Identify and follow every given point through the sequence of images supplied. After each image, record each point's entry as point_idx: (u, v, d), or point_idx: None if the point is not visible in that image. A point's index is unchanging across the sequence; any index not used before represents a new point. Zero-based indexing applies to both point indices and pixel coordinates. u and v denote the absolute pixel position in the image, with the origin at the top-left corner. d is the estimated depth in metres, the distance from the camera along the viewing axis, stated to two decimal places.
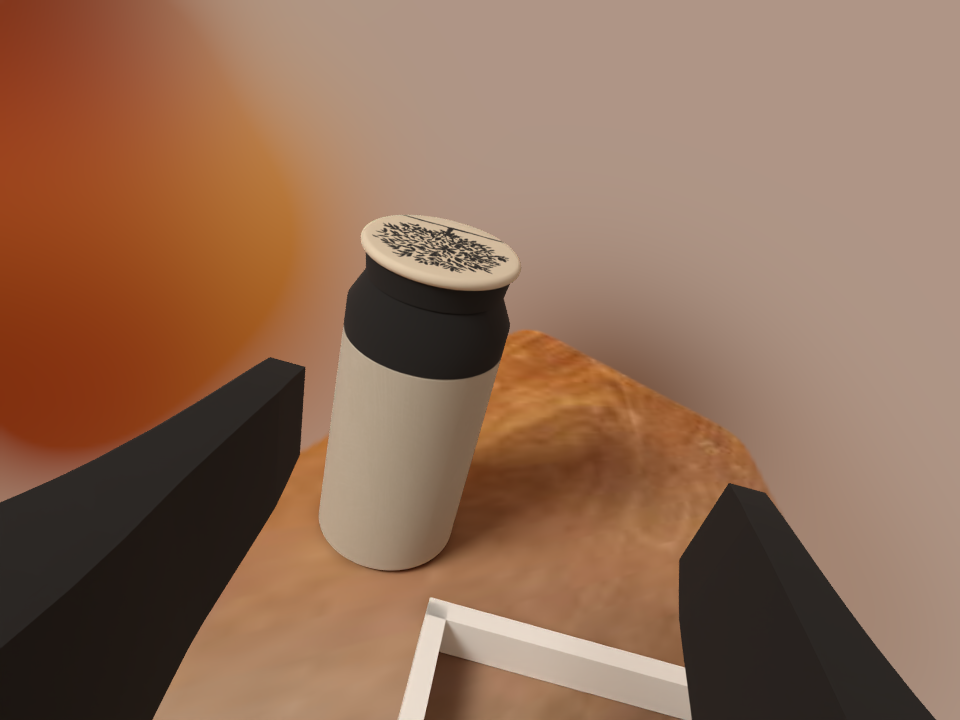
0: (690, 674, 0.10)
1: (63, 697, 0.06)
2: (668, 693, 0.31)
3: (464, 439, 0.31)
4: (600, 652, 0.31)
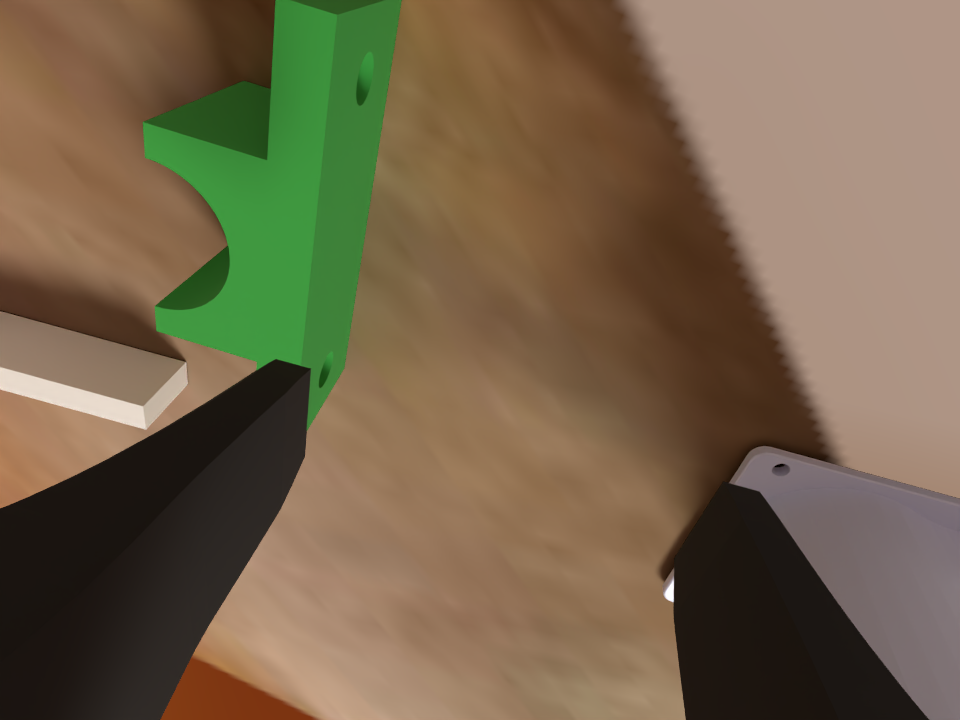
0: (684, 673, 0.10)
1: (73, 700, 0.06)
2: None
3: None
4: None
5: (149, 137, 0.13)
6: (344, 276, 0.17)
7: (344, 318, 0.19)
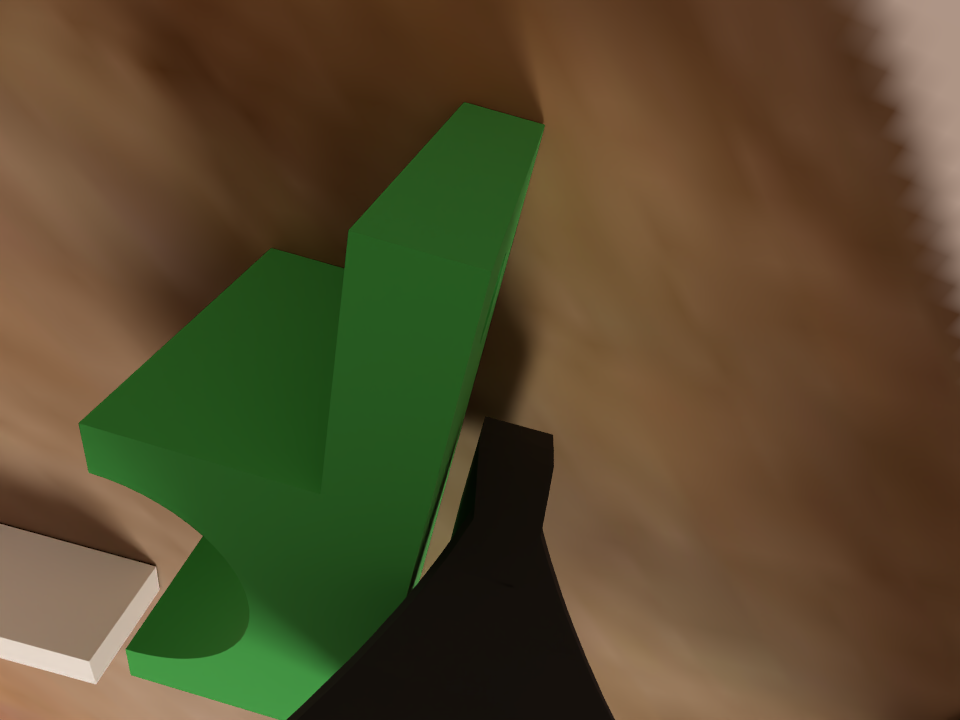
0: None
1: None
2: None
3: None
4: None
5: (93, 445, 0.07)
6: (428, 541, 0.11)
7: None
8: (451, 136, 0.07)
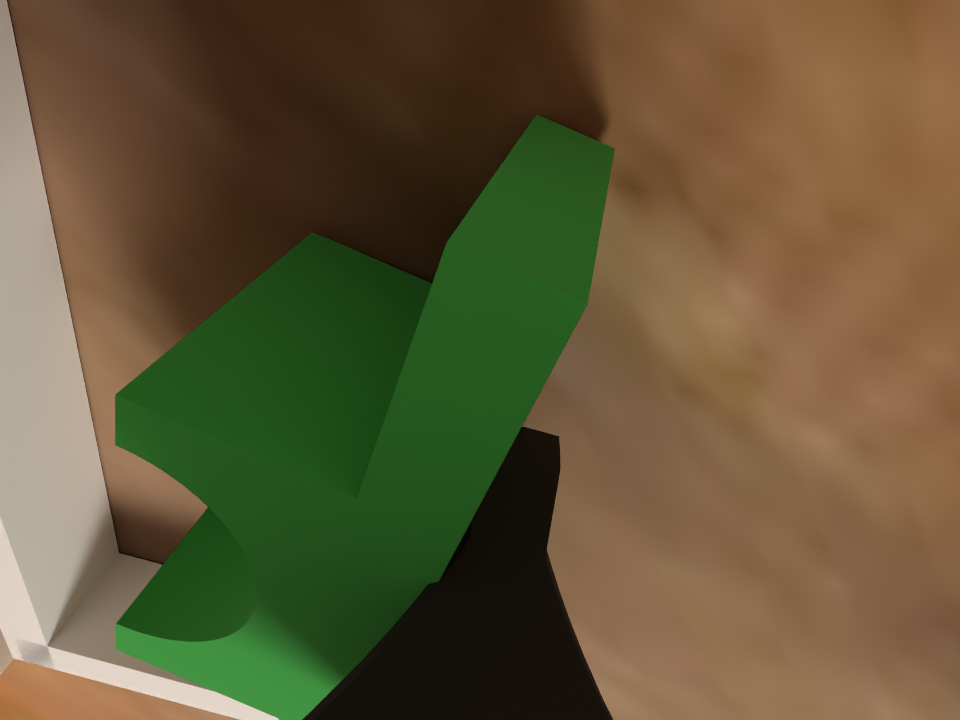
0: None
1: None
2: None
3: None
4: None
5: (126, 418, 0.06)
6: None
7: None
8: (529, 150, 0.07)
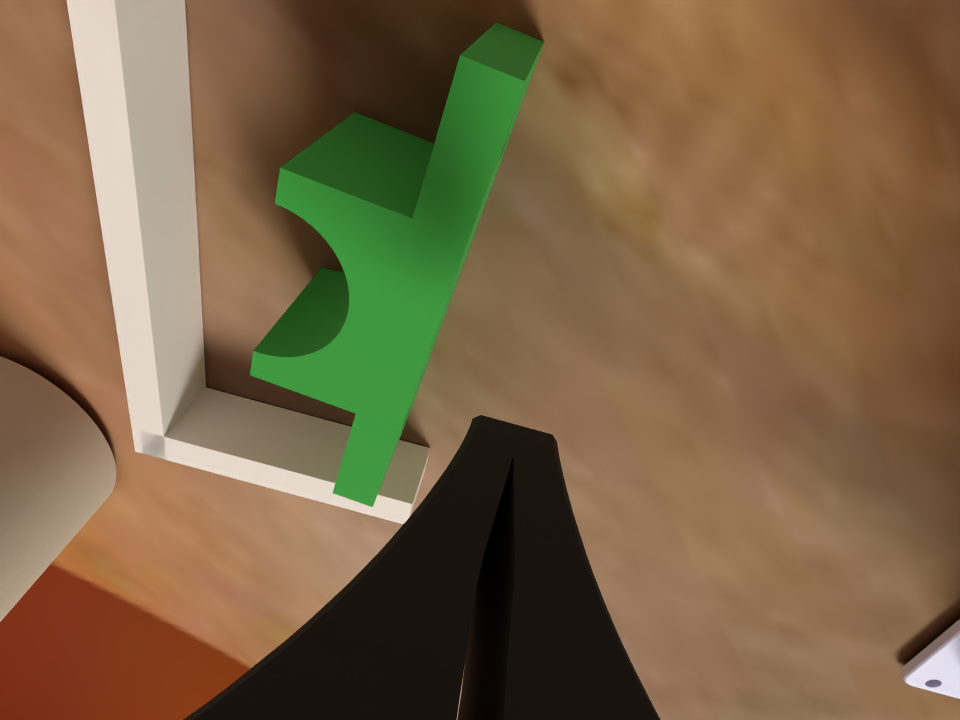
0: (471, 614, 0.10)
1: None
2: (143, 13, 0.13)
3: None
4: (114, 191, 0.14)
5: (284, 183, 0.12)
6: (441, 322, 0.16)
7: None
8: (494, 34, 0.12)
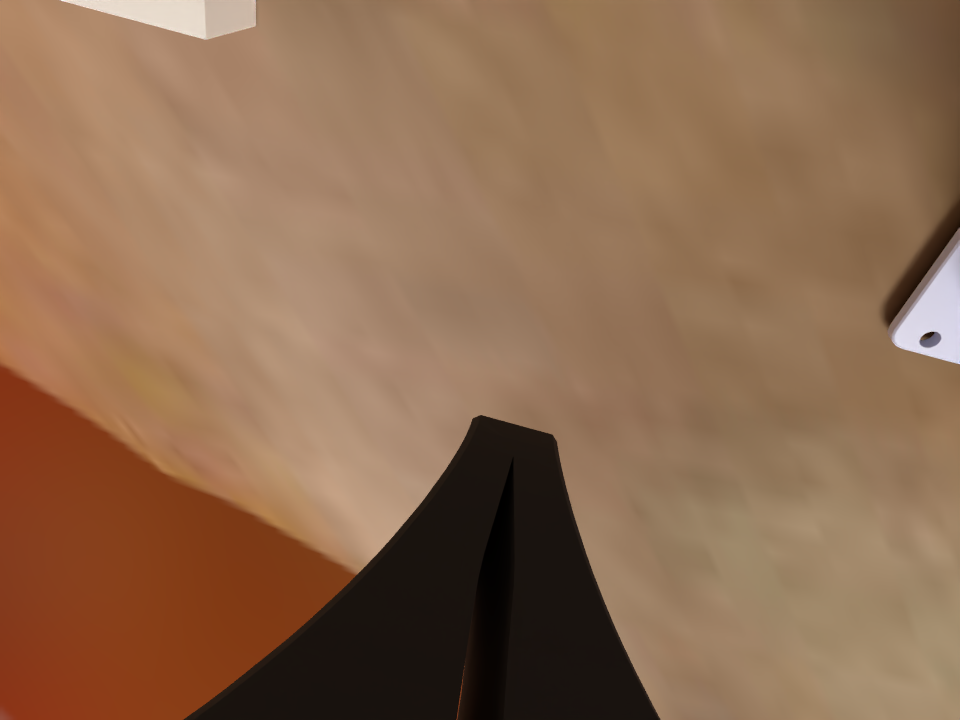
0: (471, 614, 0.10)
1: None
2: None
3: None
4: None
5: None
6: None
7: None
8: None
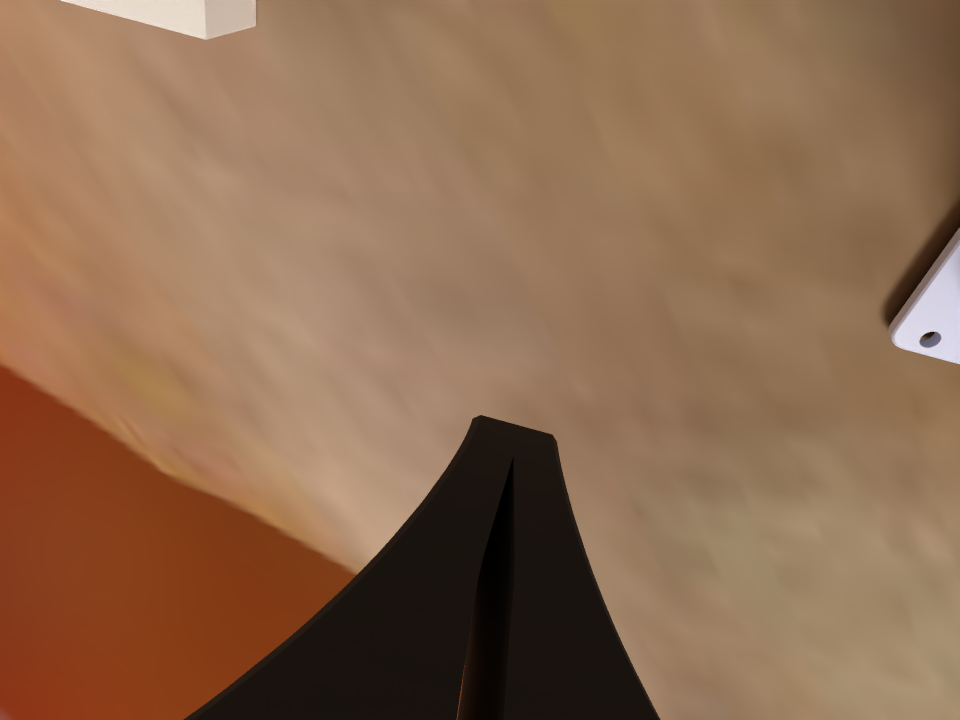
0: (471, 614, 0.10)
1: None
2: None
3: None
4: None
5: None
6: None
7: None
8: None
